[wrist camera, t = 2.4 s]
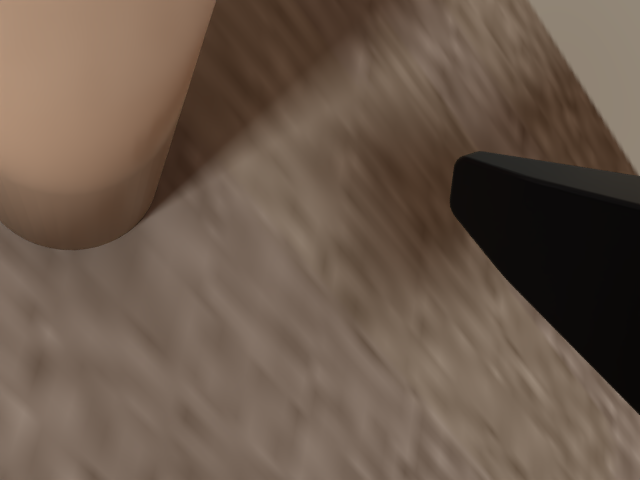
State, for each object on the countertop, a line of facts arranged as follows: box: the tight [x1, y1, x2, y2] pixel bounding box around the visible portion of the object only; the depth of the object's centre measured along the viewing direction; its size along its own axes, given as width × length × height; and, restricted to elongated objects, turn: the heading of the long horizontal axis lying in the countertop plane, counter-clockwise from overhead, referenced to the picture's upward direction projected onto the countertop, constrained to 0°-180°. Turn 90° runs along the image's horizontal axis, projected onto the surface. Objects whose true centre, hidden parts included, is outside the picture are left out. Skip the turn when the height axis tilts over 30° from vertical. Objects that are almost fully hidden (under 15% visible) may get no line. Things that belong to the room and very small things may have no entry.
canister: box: [0, 0, 216, 250], centre depth 14 cm, size 6×6×14 cm
